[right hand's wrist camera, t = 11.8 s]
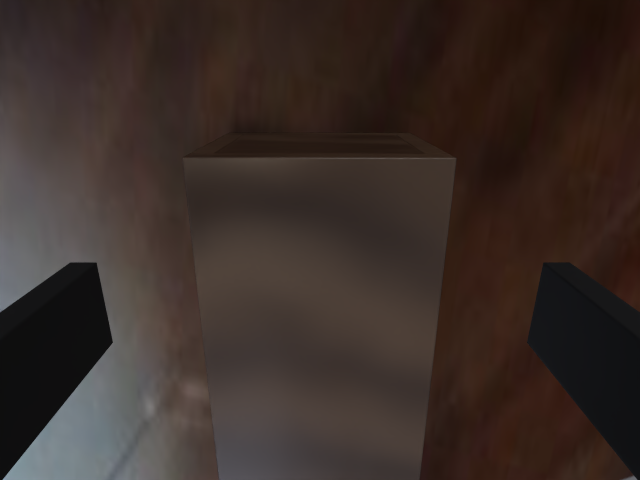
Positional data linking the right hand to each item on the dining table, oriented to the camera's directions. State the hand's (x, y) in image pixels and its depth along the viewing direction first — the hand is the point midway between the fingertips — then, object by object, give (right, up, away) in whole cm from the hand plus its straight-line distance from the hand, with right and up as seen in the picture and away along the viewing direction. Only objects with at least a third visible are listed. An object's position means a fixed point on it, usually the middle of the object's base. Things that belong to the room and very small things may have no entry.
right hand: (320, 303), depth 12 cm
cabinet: (0, -1, +16) cm, 16 cm away
